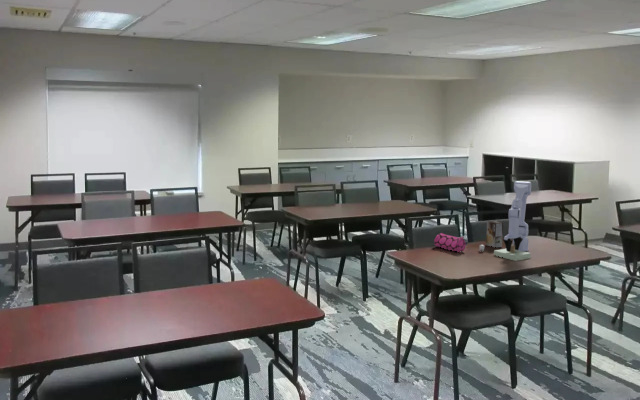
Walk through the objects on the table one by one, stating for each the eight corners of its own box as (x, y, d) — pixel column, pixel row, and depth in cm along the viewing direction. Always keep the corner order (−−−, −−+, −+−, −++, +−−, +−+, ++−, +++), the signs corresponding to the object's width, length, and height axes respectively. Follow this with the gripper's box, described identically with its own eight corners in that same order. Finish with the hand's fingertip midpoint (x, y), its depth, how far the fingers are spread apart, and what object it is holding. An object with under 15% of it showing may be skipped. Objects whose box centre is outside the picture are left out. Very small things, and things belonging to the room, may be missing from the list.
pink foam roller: (467, 252, 355) (468, 236, 354) (457, 254, 349) (458, 238, 348) (441, 245, 372) (442, 230, 371) (431, 247, 366) (432, 232, 365)
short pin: (481, 250, 358) (481, 244, 358) (485, 251, 356) (485, 245, 355) (478, 251, 357) (478, 245, 356) (481, 252, 354) (482, 246, 354)
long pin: (511, 255, 346) (512, 244, 345) (515, 256, 343) (516, 245, 342) (508, 256, 344) (508, 245, 343) (512, 257, 341) (512, 246, 341)
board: (508, 252, 354) (508, 248, 353) (530, 258, 341) (530, 253, 340) (493, 255, 346) (493, 250, 346) (515, 260, 333) (515, 255, 333)
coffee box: (502, 247, 370) (503, 222, 368) (494, 247, 368) (496, 223, 365) (492, 244, 379) (494, 220, 376) (485, 245, 376) (486, 221, 374)
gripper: (515, 226, 348) (514, 247, 350) (500, 228, 340) (499, 250, 342) (525, 227, 343) (524, 249, 344) (510, 230, 335) (508, 252, 336)
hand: (512, 250), depth 343 cm, fingers open, 7 cm apart
